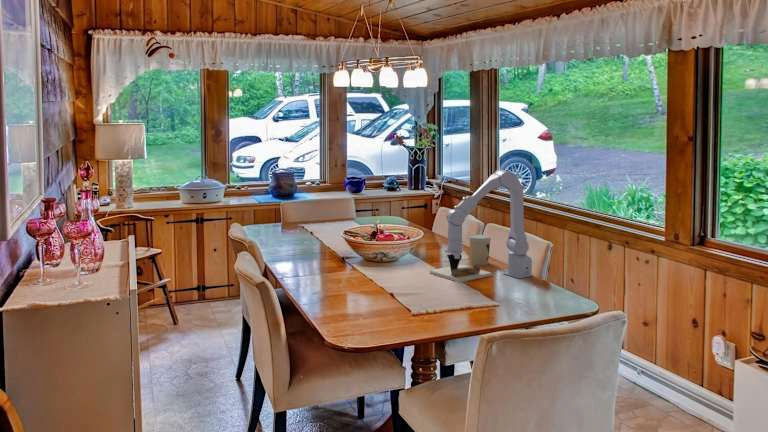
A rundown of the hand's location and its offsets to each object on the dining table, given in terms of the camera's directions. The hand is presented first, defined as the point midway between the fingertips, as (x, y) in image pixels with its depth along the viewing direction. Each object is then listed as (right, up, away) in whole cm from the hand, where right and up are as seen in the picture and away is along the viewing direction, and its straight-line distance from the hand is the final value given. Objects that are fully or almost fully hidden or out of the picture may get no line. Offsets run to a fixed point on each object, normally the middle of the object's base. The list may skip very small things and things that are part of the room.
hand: (453, 272), depth 276 cm
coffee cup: (+14, +2, +26) cm, 29 cm away
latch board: (+3, -1, +6) cm, 7 cm away
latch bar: (+5, -1, 0) cm, 5 cm away
